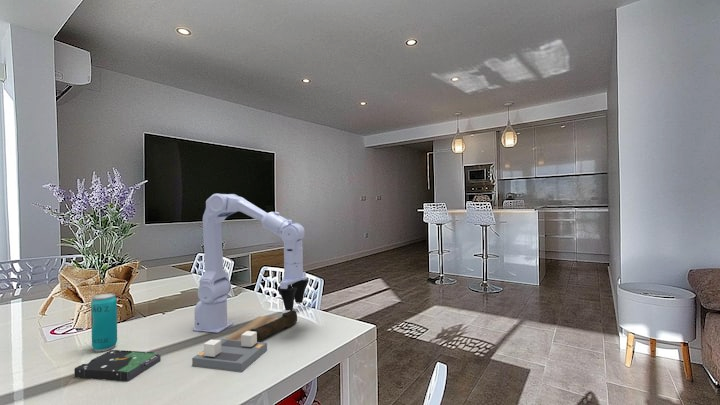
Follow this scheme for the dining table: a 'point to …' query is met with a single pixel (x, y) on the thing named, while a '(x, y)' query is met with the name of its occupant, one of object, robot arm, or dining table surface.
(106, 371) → the disk drive
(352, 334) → the dining table surface
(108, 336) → the beverage can
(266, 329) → the dark brown log
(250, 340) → the switch tab
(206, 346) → the white cube
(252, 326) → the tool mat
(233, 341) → the grey flat block
